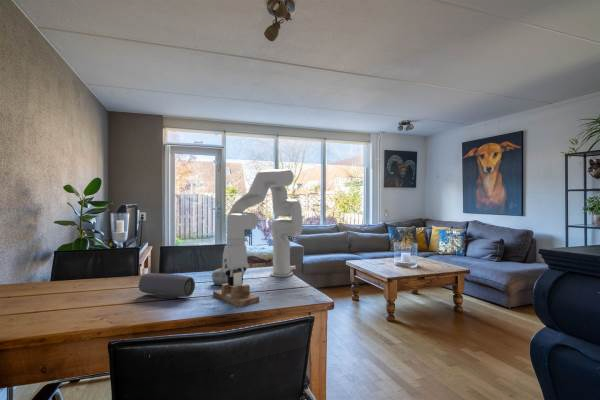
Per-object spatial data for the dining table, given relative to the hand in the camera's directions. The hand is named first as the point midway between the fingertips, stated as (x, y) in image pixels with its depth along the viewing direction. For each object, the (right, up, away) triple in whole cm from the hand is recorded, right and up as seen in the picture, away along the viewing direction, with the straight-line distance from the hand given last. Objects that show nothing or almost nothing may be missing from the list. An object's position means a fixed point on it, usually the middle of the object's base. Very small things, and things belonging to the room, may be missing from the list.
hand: (235, 284), depth 137 cm
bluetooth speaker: (-30, -6, +2) cm, 31 cm away
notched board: (0, -6, 0) cm, 6 cm away
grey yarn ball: (-9, -6, +22) cm, 25 cm away
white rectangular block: (0, -1, 0) cm, 1 cm away
